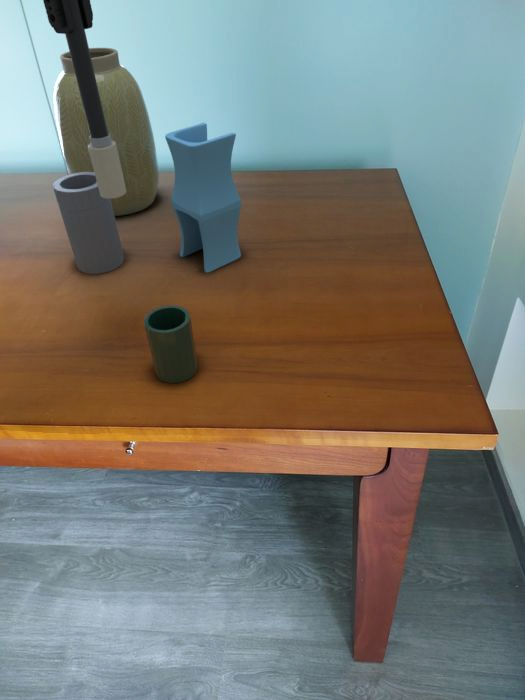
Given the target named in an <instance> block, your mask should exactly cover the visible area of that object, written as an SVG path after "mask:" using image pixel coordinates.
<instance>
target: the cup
mask: <svg viewBox="0 0 525 700" xmlns="http://www.w3.org/2000/svg"><path fill="white" fill-rule="evenodd" d="M52 188H53V193H54V195H55V199H56V202H57V205H58V209H59V211H60V214H61V218H62V222H63V225H64V228H65V231H66V235H67V238H68V242H69V244H70V247H71V248H70V249H71V250H72V255H73V257H74V261H75V264H76V267H77V269H78V270H79V271H80V272H82V273H83V274H88V275H99V274H100V275H101V274H105V273H110V272H111V271H114V270H116V269H117V268H119V267H120V266H121V265H122V264H123V263H124V261H125V256H124V251H123V246H122V241H121V238H120V237H121V236H120V233H119V229H118V225H117V221H116V216H114V212H113V207H112V203H111V199H107V198H103V197H101V196H100V192H99V188H98V184H97V180H96V176H95V172H79V173H74V174H70V175H69V174H67V175H64V176H62V177H59V178H57V179H56V180H55V181H54V182H53V184H52Z"/></svg>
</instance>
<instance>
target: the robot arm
mask: <svg viewBox="0 0 525 700" xmlns="http://www.w3.org/2000/svg"><path fill="white" fill-rule="evenodd" d="M42 1H43V5H44V9H45V13H46V17H47V21H48V23H49V25H50V26H51V28H53V31H54V32H55V34H62V35H65V34H69V33H73V32H74V26H73V22H72V18H71V13H70V9H69V5H68V1H67V0H42ZM78 3H79V7H80V11H81V16H82V20H83V25H84V29H85V30H88V29H92V28H93V26H94V25H93V24H94V23H93V21H94V13H93V12H94V11H93V8H92V4H91V0H78Z"/></svg>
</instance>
